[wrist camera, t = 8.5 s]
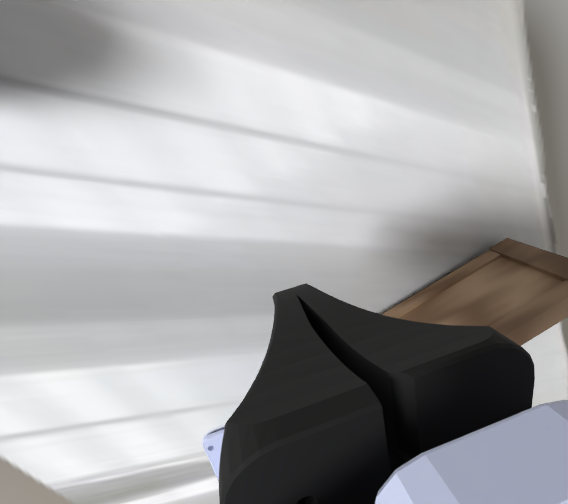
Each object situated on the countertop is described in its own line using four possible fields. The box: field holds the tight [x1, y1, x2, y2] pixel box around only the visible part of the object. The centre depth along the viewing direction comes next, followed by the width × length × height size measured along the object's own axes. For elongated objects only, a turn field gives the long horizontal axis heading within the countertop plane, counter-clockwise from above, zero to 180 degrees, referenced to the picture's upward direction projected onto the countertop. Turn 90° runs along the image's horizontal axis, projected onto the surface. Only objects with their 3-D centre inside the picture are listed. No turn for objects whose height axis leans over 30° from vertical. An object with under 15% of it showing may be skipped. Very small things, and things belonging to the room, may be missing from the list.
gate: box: [381, 238, 568, 346], centre depth 21 cm, size 15×2×7 cm, turn 117°
